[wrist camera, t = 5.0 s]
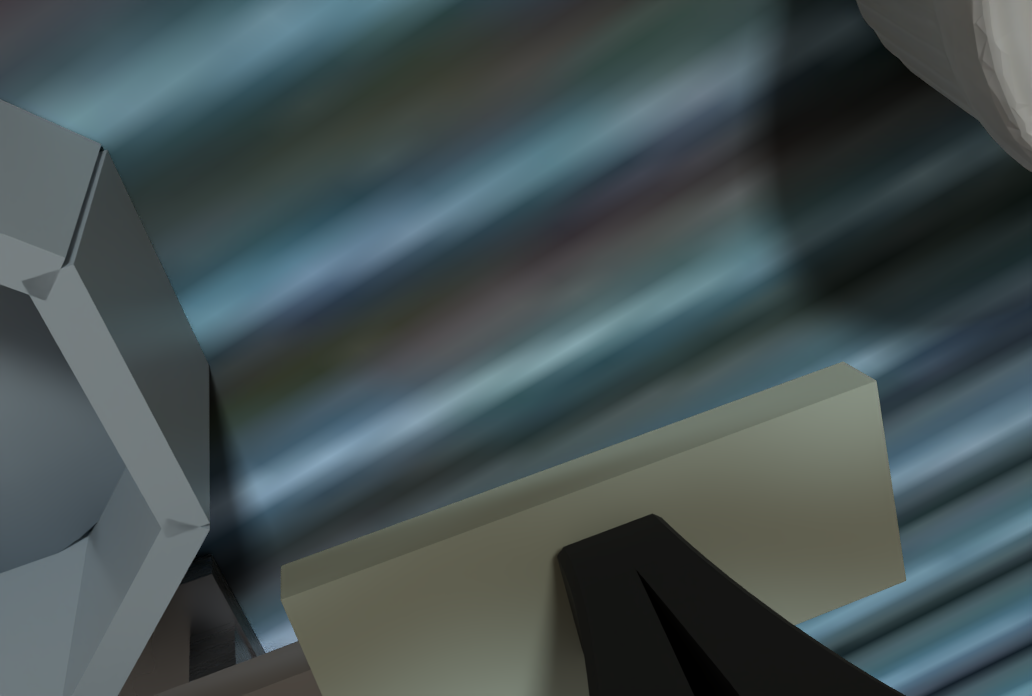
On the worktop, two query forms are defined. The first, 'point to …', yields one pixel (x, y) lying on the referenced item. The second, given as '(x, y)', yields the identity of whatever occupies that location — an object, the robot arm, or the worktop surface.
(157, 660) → the fulcrum
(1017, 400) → the worktop surface
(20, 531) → the bowl
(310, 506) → the worktop surface
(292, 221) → the worktop surface
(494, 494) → the lever
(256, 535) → the worktop surface
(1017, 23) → the ramekin
